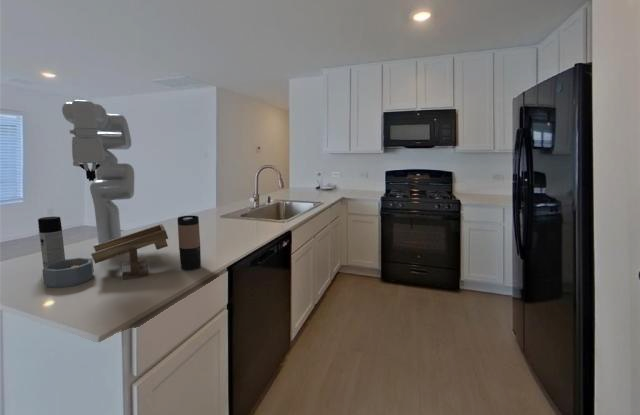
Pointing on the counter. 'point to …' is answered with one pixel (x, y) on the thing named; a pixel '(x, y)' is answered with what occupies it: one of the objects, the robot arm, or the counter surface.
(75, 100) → the robot arm
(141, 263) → the pivot stand
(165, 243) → the lever tray
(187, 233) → the travel mug
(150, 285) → the counter surface
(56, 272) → the octagonal bowl
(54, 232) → the spray can
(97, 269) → the counter surface
